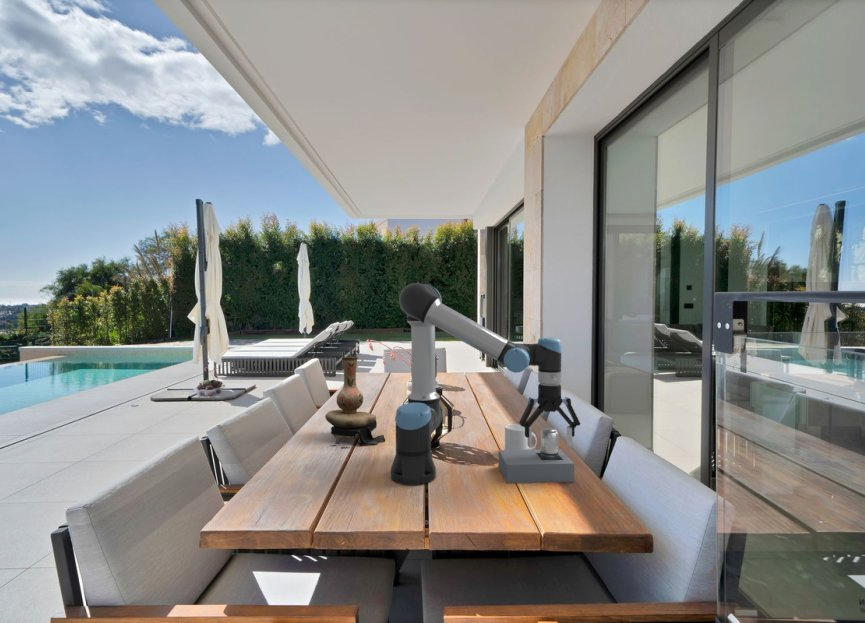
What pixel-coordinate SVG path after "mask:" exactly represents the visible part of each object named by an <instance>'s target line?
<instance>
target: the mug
mask: <svg viewBox="0 0 865 623" xmlns="http://www.w3.org/2000/svg"><path fill="white" fill-rule="evenodd" d="M532 438H534V439H535V443H534V445H533V446H532V448H529V447H528V445H527V437H525V427H522V426H521V425H520V424H519V423H511V424H509V423H508V424H506V425H505V426H504V450H536V448H537V443H538V439H537V436H536V434H535V433H534V432H532Z"/></svg>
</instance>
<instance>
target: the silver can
mask: <svg viewBox="0 0 865 623" xmlns="http://www.w3.org/2000/svg"><path fill="white" fill-rule="evenodd" d="M558 449H559V431H558V429H556V428H554V427H544V428H542V429H541V430H540V449H539V450H540V452H541V460H558Z"/></svg>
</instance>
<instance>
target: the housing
mask: <svg viewBox="0 0 865 623" xmlns="http://www.w3.org/2000/svg"><path fill="white" fill-rule="evenodd" d="M540 450H541V449H534V450H505V449H499V450H498V454H497V455H498V464H497V466H498V469H499V471H500V473H501V475H502V477H503V479H504V480H505V482H506V484H537V483H540V484H541V483H542V484H543V483H574V482H575V463H574V461H572V460H571V459H570V457H568V455H566V453H564V452H563V450H561V449H559V448H558V460H541V452H540Z"/></svg>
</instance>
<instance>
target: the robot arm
mask: <svg viewBox="0 0 865 623" xmlns="http://www.w3.org/2000/svg"><path fill="white" fill-rule="evenodd" d="M398 300H399V301H398V302H399V306H400V309H401V310H402V311H403V312H404V314H406V322H407V323H408V324H409V325H410V327H411V328H410V332H411V392H410V393H409V394H408V396H407V403H404V404H401V405H400V406H398V407H397V409H396V410H395V419H394V420H395V455H394V459H393V461H392V464H391V467H390V479H391V480H392V481H393V482H395V483H396V484H400V485H403V486H405V485H406V486H420V485H425V484H428V483H431V482H433V481H434V480H435V479H436V477H437V468H436V465H435V462H434V459H433V456H432V453H431V452H432V450H431V448H432V447H431V446H432V444H431V442H432V437H431V436H432V434H433V432H435V431H436V429H437V428H438V427H439V426H440V425H441V423H442V421H443V418H444V417H443V416H444V411H443V410H444V409H443V407H442V405H441V395H440V394H439V393H438V392H437V391H436V389H437V388H436V383H437V382H436V380H437V379H436V328H438V329H439V330H442V331H443V332H445V333H447V334H448V335H451V336H452V337H454V338H456V339H457V340H460V341H461V342H462V343H465V344H466V345H468V346H470V347H472V348H473V349H475V350H477V351H479V352H481V353H482V354H484V355H486V356H488V357H490V358H491V359H494V360H495V361H496V362H498V363H500V364H502V365H503V366H505V367H506V369H507V370H508V371H510V372H511V373H522V372H523V371H524V370H526V369H527V368H528V367H531V366H532V367H537V366H538V367H537V368H538V370H537V371H538V372H537V375H538V376H537V382H538V383H539V384H537V389H538V390H537V393H538V394H537V398H532V397H529V398H528V403H527V406H526V408H525V409H524V412H523V413H522V415H521V417H520V420H519V422H518V424H520V425H521V426H522V427H525V437H527V445H528V447H529V448H532V447H533V446H532V444H533V436H532V433H533V429H532V425H533V424H534V422H535V421H536V420H537V419H538V418H539V417H540V415H541V414H542V413H543V412H545V413H550V412H552V413H555V412H558V413H559V415H560V416H561V417H562V418H563V419H564V421H565V422H567V424H568V425H566V446H568V447H569V448H573V438H574V437H575V433H576V432H575V429H576V428H577V427H578V426H581V422H580V420H579V417H578V416H577V414H576V412H575V410H574V407H573V406H572V399H571V398H570V397H567V396H565V397H564V398H563V397H562V385H561V383H562V341H561V340H560V339H559V338H558V337H539V338H538V341H537V343H515V342H512V341H510V340H508V339H507V338H505V337H504V336H501V335H500V334H497V333H496V332H494V331H492V330H490V329H488V328H487V327H485V326H484V325H481V324H479V323H477V322H476V321H475V320H472V319H471V318H468V316H465V315H463V314H462V313H459V311H456V310H454V309H453V308H451V307H449V306H447V305H445V304H444V303H443V302H442V300H443V299H442V295H441V294H440V292H439V291H438V289H437V288H435V287H434V286H433V285H431V284H429V283H426V284H425V283H417V282H412V283H410V284H407V285H406V286H404V288H402V289H401V292H400V294H399V298H398ZM536 403H537V404H538V406H537V407H536V410H534V412H533V413H532V414H531V412H532V410H533V409H534V406H535V405H536ZM562 404H564V405H565V407H566V409H567V411H568V412H569V414H570V417H571V419H570V417H569V416H568V415H567V414H566V413H565V411H564V410H563V409H562V408H561V405H562ZM530 414H531V415H530ZM572 420H573V421H572Z"/></svg>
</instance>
